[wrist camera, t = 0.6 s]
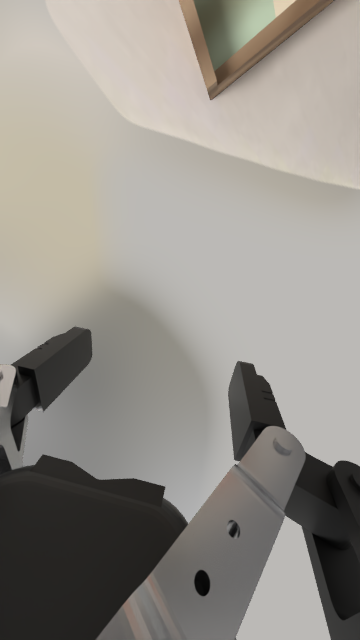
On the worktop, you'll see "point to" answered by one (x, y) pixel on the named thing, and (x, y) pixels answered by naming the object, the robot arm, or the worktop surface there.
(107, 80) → the worktop surface
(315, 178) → the worktop surface
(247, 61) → the box
